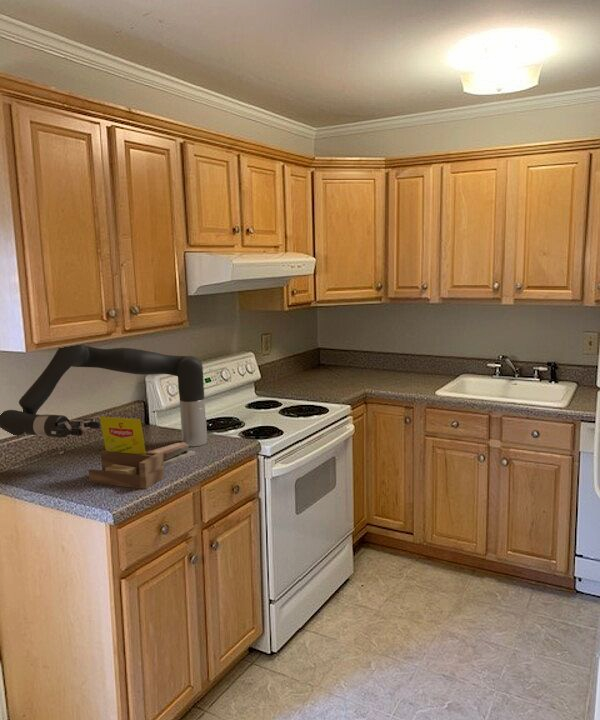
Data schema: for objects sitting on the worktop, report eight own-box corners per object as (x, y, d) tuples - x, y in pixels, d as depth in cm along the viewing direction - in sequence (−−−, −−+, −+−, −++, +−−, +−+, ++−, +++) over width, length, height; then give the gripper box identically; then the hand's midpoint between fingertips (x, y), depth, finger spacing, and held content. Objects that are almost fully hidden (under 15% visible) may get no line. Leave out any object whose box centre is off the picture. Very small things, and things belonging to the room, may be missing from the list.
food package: (108, 473, 194) (98, 417, 189) (110, 472, 195) (100, 415, 190) (148, 478, 189) (139, 419, 184) (150, 476, 190) (141, 418, 185)
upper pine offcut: (114, 471, 190) (114, 464, 190) (136, 475, 186) (136, 467, 186) (105, 475, 187) (105, 467, 186) (127, 479, 183) (127, 471, 183)
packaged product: (156, 456, 197) (136, 451, 203) (157, 470, 198) (137, 465, 203) (195, 442, 211) (176, 438, 217) (196, 455, 212) (176, 451, 218)
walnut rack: (109, 471, 196) (107, 448, 195) (164, 477, 189) (162, 453, 188) (89, 482, 187) (87, 458, 185) (146, 488, 180) (144, 463, 178)
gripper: (34, 420, 192) (75, 423, 186) (65, 410, 205) (104, 412, 200) (36, 442, 193) (77, 446, 188) (67, 431, 206) (105, 433, 201)
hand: (91, 428), depth 194 cm, fingers open, 8 cm apart
